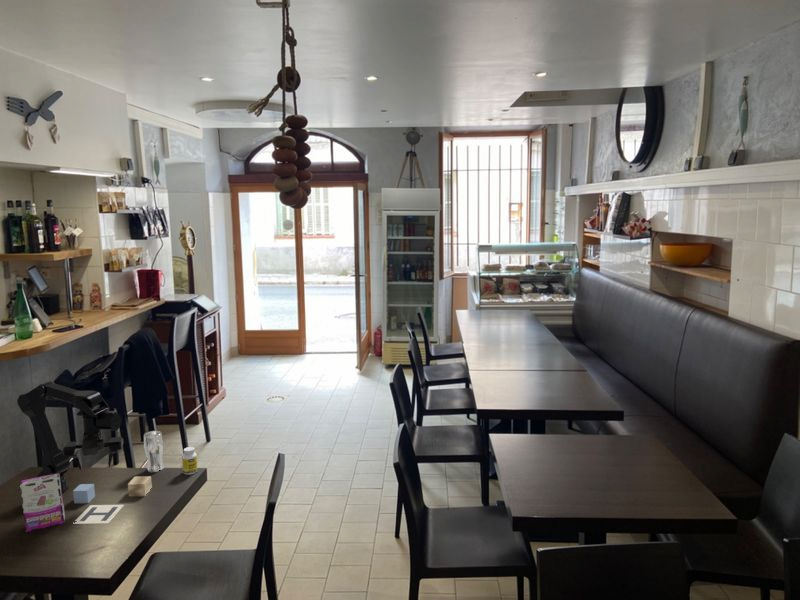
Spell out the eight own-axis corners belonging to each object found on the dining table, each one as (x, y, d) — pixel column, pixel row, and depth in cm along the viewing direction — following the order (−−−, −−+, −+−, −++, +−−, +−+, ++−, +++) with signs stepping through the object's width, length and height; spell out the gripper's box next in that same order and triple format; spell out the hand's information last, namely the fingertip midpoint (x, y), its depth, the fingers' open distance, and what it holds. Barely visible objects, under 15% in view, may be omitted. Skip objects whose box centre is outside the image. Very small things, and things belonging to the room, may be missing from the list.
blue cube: (74, 503, 209) (72, 490, 208) (81, 496, 214) (80, 484, 213) (88, 503, 209) (86, 490, 208) (95, 496, 214) (94, 483, 213)
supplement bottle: (189, 476, 229) (187, 452, 227) (180, 473, 232) (178, 449, 230) (200, 470, 233) (198, 447, 232) (191, 467, 236) (189, 444, 234)
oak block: (129, 497, 213) (127, 484, 213) (136, 488, 219) (134, 476, 219) (145, 496, 214) (144, 484, 213) (152, 488, 219) (151, 476, 219)
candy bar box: (65, 516, 200) (60, 472, 197) (64, 523, 196) (59, 478, 193) (26, 525, 195) (21, 479, 192) (25, 532, 191) (19, 486, 188)
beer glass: (142, 470, 234) (139, 435, 231) (156, 463, 240) (153, 429, 237) (154, 474, 231) (151, 438, 228) (168, 467, 237) (165, 432, 234)
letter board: (72, 523, 196) (72, 523, 196) (90, 505, 207) (90, 505, 207) (108, 523, 196) (108, 523, 196) (124, 504, 208) (124, 504, 208)
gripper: (57, 439, 198) (61, 482, 200) (117, 433, 203) (120, 474, 206) (64, 426, 208) (68, 467, 211) (122, 421, 214) (124, 461, 217)
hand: (95, 468), depth 211 cm, fingers open, 9 cm apart
